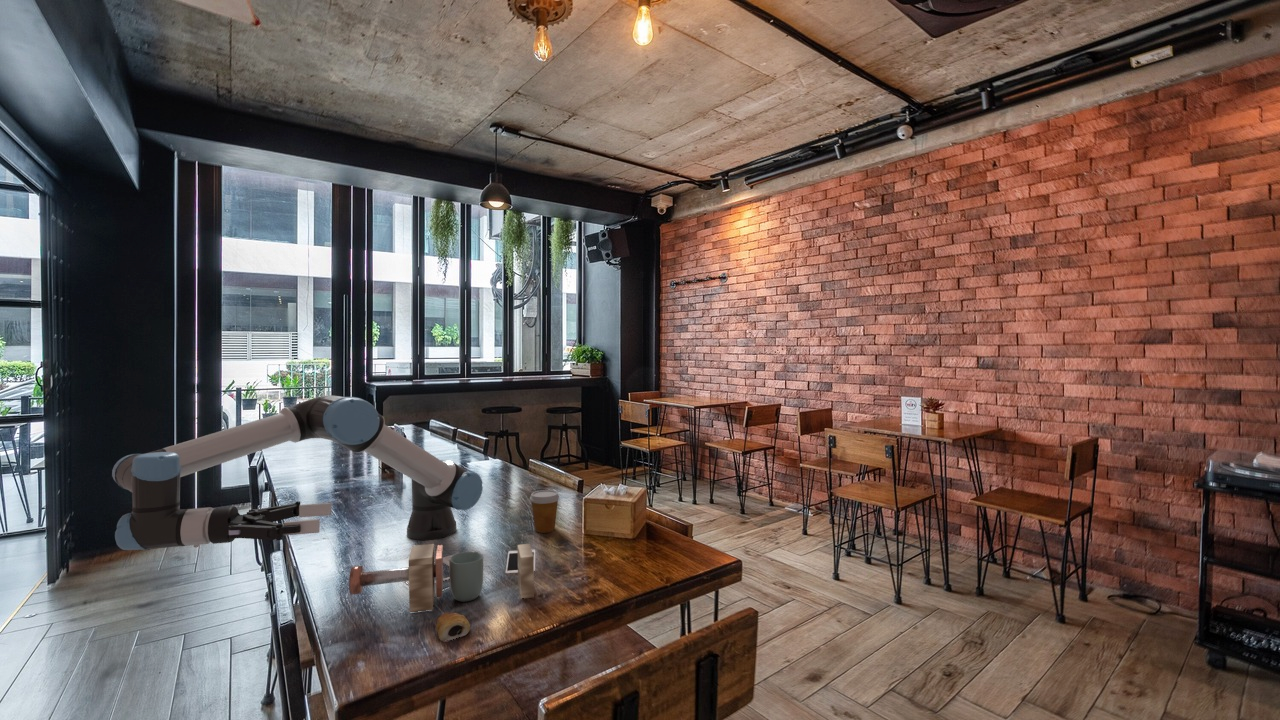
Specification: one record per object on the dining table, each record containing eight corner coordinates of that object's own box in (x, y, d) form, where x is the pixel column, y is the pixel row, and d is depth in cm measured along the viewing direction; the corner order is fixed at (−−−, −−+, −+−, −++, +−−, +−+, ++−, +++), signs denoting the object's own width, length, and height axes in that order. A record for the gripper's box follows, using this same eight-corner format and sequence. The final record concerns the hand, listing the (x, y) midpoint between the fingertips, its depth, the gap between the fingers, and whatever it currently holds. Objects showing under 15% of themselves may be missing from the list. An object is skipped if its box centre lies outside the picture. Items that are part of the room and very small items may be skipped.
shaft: (348, 609, 125) (347, 568, 125) (355, 591, 134) (354, 554, 134) (441, 596, 131) (441, 558, 131) (443, 581, 140) (442, 544, 139)
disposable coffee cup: (562, 525, 191) (562, 490, 190) (555, 535, 181) (555, 497, 181) (534, 524, 192) (534, 489, 191) (526, 534, 182) (526, 497, 182)
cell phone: (535, 551, 168) (535, 549, 168) (535, 573, 153) (535, 570, 153) (508, 553, 167) (508, 550, 167) (505, 575, 151) (505, 573, 151)
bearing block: (409, 614, 129) (408, 559, 129) (413, 596, 138) (412, 545, 137) (432, 610, 130) (432, 557, 130) (434, 593, 139) (434, 543, 139)
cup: (452, 608, 132) (452, 565, 131) (447, 595, 139) (446, 554, 138) (486, 601, 135) (486, 559, 135) (479, 588, 142) (479, 549, 142)
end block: (521, 598, 136) (520, 557, 136) (518, 583, 145) (517, 544, 145) (534, 597, 137) (533, 556, 137) (529, 582, 146) (529, 543, 146)
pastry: (430, 625, 124) (430, 608, 124) (462, 618, 128) (462, 601, 128) (440, 645, 116) (440, 626, 116) (473, 636, 120) (473, 618, 120)
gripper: (233, 525, 132) (335, 518, 139) (187, 564, 109) (313, 552, 115) (233, 493, 132) (335, 487, 139) (187, 524, 108) (313, 515, 115)
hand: (325, 516), depth 127 cm, fingers open, 13 cm apart
